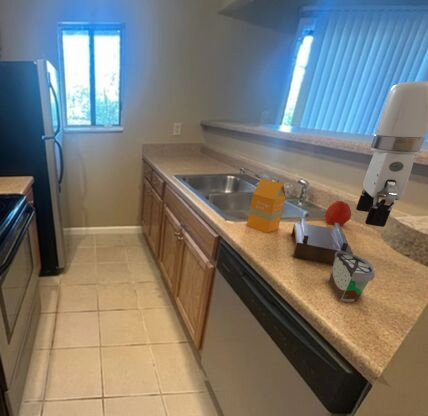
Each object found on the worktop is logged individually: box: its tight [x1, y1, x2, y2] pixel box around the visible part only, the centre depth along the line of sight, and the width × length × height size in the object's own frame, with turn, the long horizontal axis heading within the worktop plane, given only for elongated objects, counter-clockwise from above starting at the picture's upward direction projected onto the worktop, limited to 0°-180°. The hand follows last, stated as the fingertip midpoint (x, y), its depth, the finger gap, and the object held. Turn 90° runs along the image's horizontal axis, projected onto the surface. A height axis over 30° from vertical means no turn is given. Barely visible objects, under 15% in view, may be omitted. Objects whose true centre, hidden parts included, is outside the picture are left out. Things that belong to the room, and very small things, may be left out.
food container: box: [328, 251, 376, 303], centre depth 72 cm, size 12×6×10 cm, turn 157°
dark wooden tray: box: [291, 217, 354, 267], centre depth 94 cm, size 14×19×8 cm
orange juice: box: [246, 178, 287, 234], centre depth 109 cm, size 8×9×20 cm
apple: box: [324, 200, 352, 227], centre depth 113 cm, size 8×8×11 cm
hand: (368, 217), depth 65 cm, fingers open, 9 cm apart
